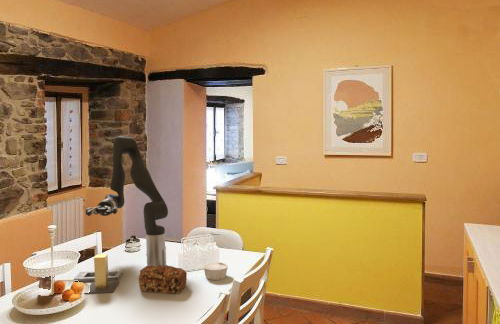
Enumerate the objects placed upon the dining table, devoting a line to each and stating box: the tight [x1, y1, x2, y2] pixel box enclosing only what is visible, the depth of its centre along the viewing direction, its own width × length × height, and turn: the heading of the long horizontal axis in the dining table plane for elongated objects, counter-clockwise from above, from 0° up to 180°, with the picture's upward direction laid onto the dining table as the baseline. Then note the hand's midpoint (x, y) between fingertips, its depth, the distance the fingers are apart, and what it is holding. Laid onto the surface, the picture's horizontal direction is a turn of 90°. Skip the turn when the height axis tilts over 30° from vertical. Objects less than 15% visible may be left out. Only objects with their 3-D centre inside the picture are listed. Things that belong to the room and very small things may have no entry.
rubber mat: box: [88, 280, 120, 295], centre depth 191 cm, size 12×12×1 cm
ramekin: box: [203, 261, 229, 281], centre depth 203 cm, size 11×11×5 cm
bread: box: [138, 265, 188, 295], centre depth 189 cm, size 19×11×10 cm, turn 79°
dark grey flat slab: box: [73, 270, 124, 283], centre depth 203 cm, size 20×9×2 cm, turn 94°
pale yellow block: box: [93, 253, 110, 289], centre depth 190 cm, size 5×5×14 cm
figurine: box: [37, 275, 56, 290], centre depth 185 cm, size 7×7×12 cm
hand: (97, 213), depth 203 cm, fingers open, 8 cm apart
